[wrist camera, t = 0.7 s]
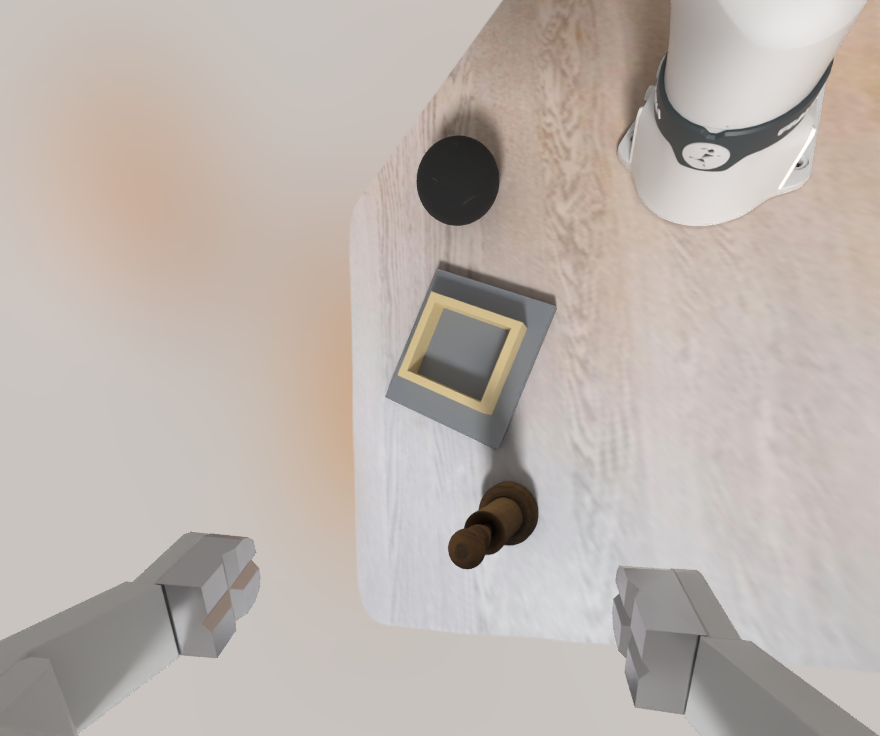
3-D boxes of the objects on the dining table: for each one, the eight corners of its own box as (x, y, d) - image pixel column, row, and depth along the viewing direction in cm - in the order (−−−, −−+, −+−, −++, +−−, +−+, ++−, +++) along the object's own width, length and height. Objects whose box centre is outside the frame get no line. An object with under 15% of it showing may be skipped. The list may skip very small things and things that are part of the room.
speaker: (488, 247, 55) (464, 211, 46) (423, 227, 59) (389, 190, 50) (519, 174, 55) (501, 124, 46) (452, 159, 59) (423, 109, 50)
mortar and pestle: (478, 485, 52) (417, 513, 35) (532, 478, 50) (493, 504, 33) (489, 543, 51) (430, 600, 34) (544, 538, 48) (510, 596, 32)
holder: (441, 272, 57) (428, 260, 53) (556, 308, 51) (552, 298, 47) (390, 397, 58) (373, 395, 54) (498, 448, 52) (489, 450, 47)
